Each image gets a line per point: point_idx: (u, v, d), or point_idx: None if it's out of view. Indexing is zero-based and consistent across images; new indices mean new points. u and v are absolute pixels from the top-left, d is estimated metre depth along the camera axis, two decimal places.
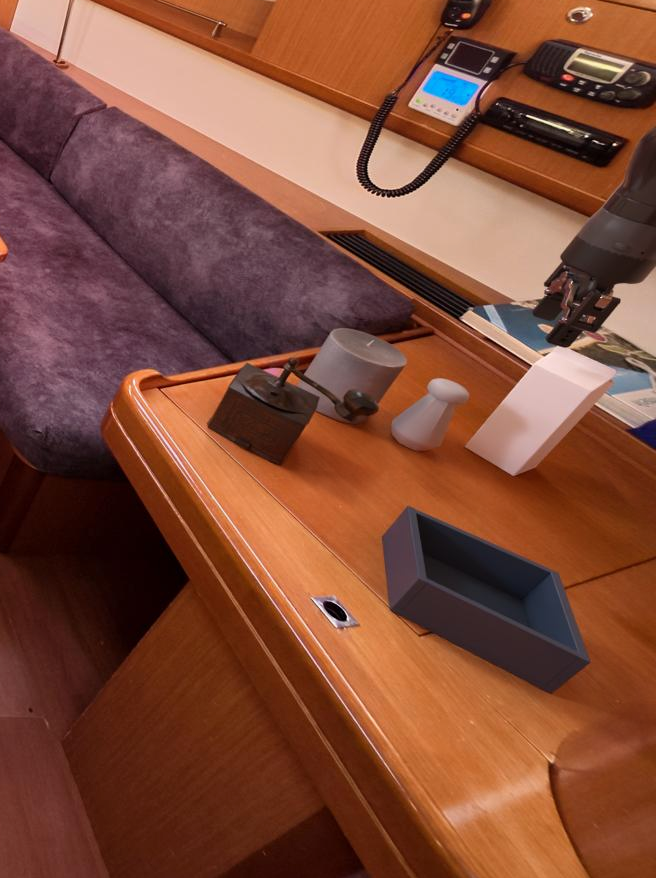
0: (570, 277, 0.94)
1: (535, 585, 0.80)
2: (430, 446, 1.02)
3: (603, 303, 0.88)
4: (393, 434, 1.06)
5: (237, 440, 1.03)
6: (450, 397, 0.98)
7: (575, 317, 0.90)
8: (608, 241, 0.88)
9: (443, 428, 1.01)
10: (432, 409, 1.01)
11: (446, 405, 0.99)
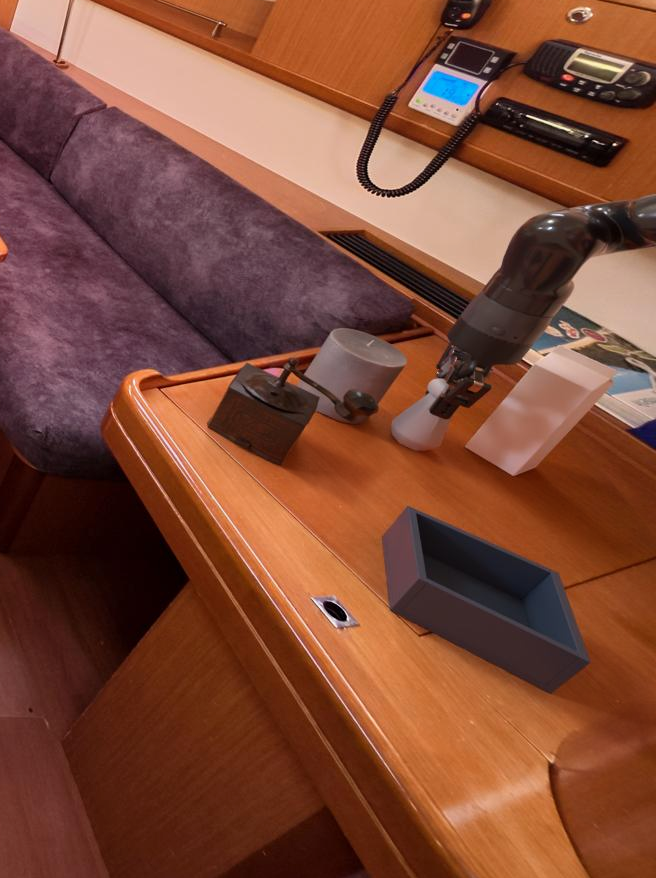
0: (456, 354, 0.98)
1: (535, 585, 0.80)
2: (430, 446, 1.02)
3: (475, 389, 0.93)
4: (393, 434, 1.06)
5: (237, 440, 1.03)
6: None
7: (450, 395, 0.96)
8: (485, 324, 0.93)
9: (444, 428, 1.01)
10: None
11: None
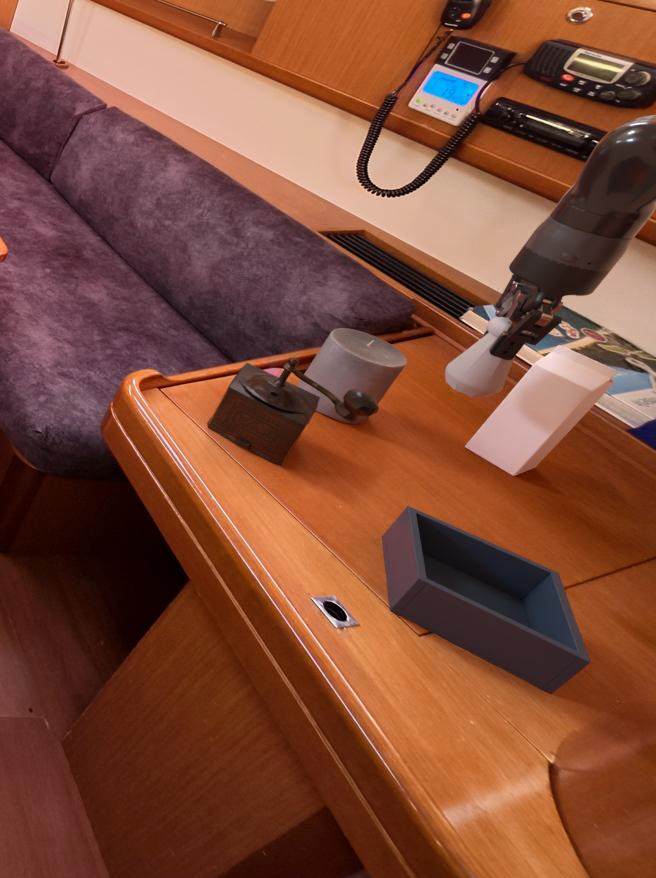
0: (520, 288, 0.90)
1: (535, 585, 0.80)
2: (490, 391, 0.93)
3: (543, 322, 0.85)
4: (447, 381, 0.97)
5: (237, 440, 1.03)
6: None
7: (514, 331, 0.87)
8: (554, 251, 0.84)
9: (505, 371, 0.92)
10: None
11: None
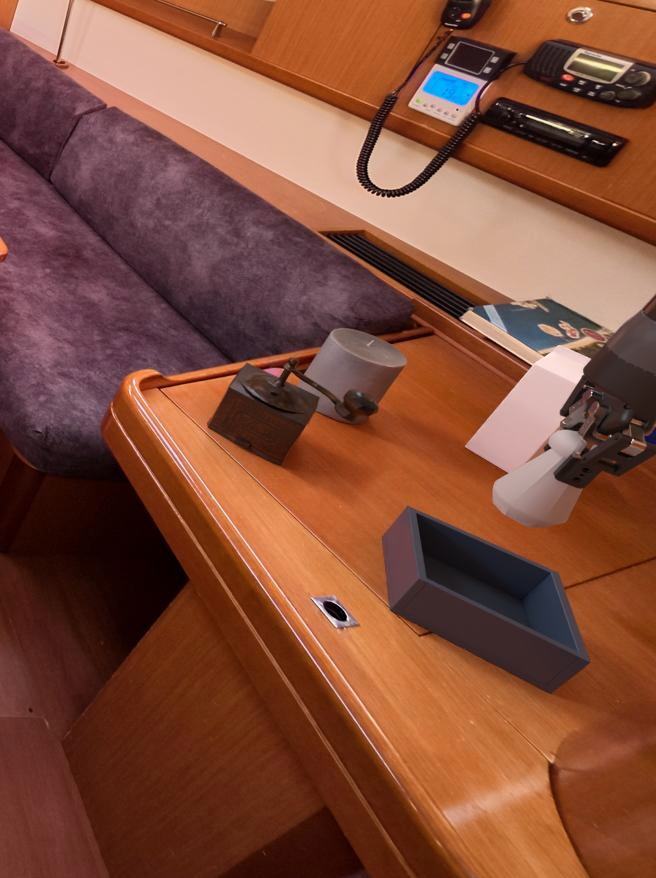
0: (596, 398, 0.70)
1: (535, 585, 0.80)
2: (552, 523, 0.74)
3: (632, 451, 0.65)
4: (495, 502, 0.78)
5: (237, 440, 1.03)
6: None
7: (592, 458, 0.68)
8: (650, 359, 0.64)
9: (572, 499, 0.73)
10: None
11: None
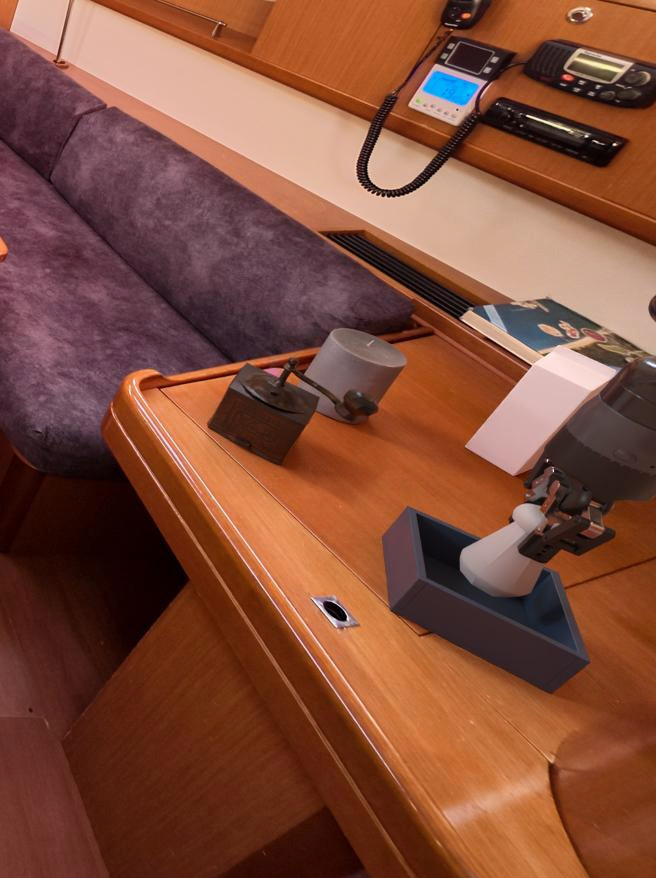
0: (557, 475, 0.72)
1: (535, 585, 0.80)
2: (516, 594, 0.75)
3: (591, 534, 0.67)
4: (462, 571, 0.79)
5: (237, 440, 1.03)
6: None
7: (553, 537, 0.69)
8: (607, 445, 0.66)
9: (536, 572, 0.74)
10: None
11: None
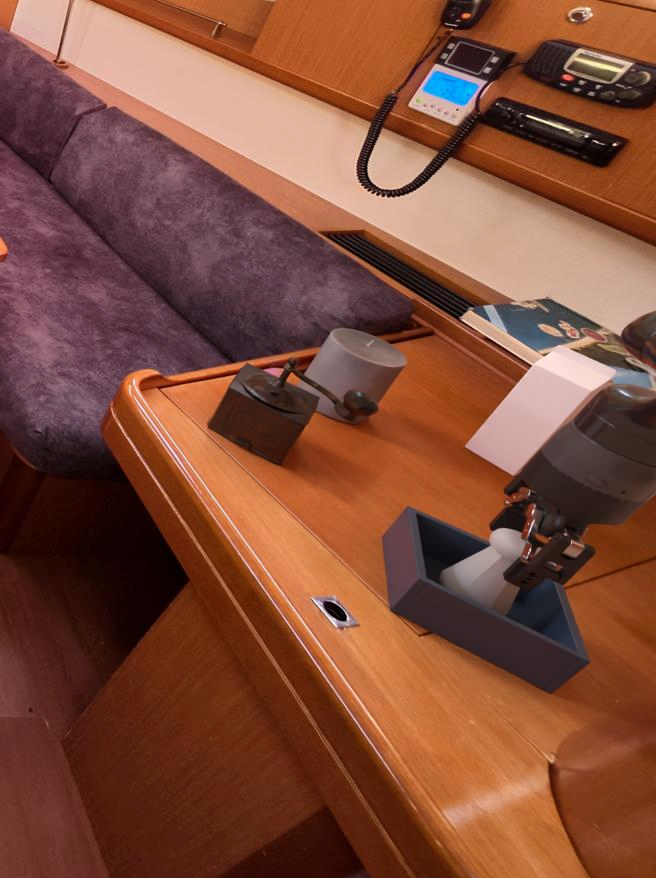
0: (534, 498, 0.74)
1: None
2: None
3: (573, 551, 0.68)
4: None
5: (237, 440, 1.03)
6: None
7: (538, 562, 0.70)
8: (580, 470, 0.68)
9: (512, 595, 0.76)
10: (496, 570, 0.76)
11: None
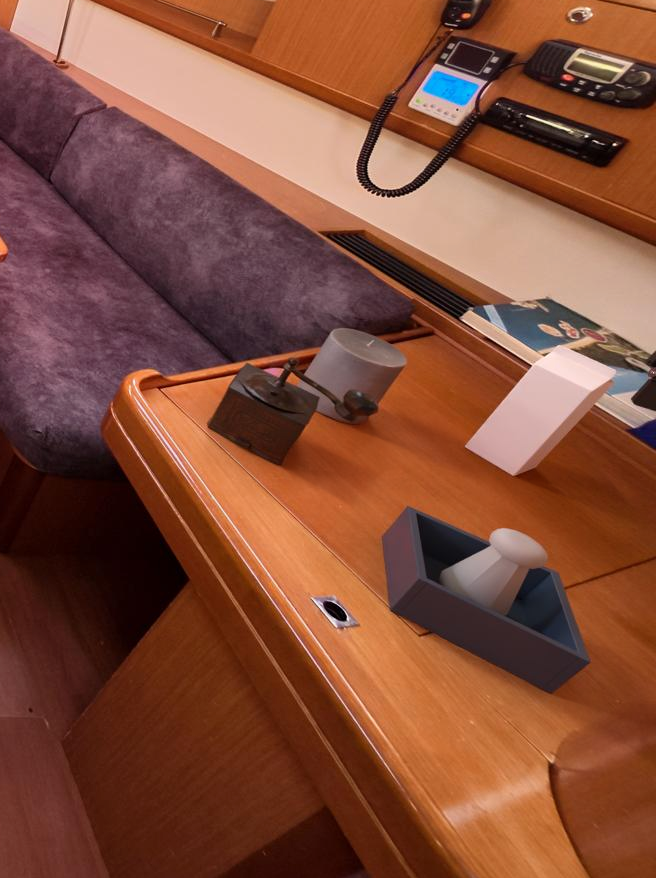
0: None
1: (535, 585, 0.80)
2: None
3: None
4: None
5: (237, 440, 1.03)
6: (523, 559, 0.74)
7: None
8: None
9: (512, 595, 0.76)
10: (496, 570, 0.76)
11: (516, 567, 0.75)
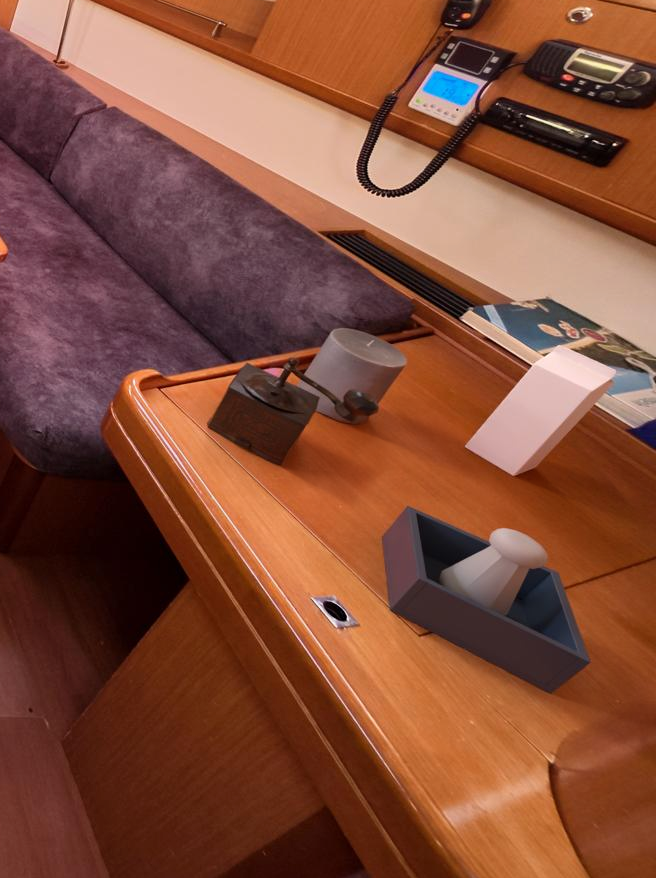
0: None
1: (535, 585, 0.80)
2: None
3: None
4: None
5: (237, 440, 1.03)
6: (522, 559, 0.74)
7: None
8: None
9: (512, 595, 0.76)
10: (496, 570, 0.76)
11: (516, 567, 0.75)
